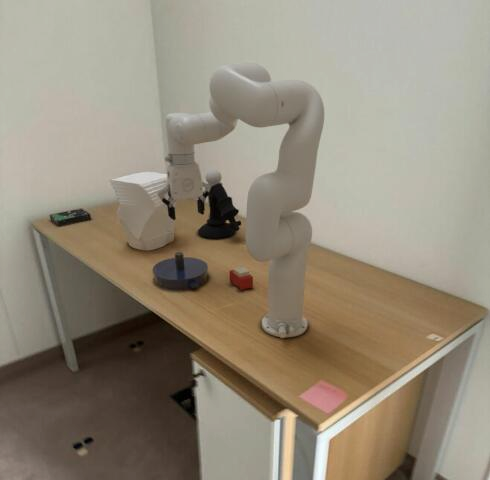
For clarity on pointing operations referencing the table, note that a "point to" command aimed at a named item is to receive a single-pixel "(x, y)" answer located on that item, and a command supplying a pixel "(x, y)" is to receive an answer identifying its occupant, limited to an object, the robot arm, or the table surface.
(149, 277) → the table surface
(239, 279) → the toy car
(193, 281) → the pot
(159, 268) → the lid
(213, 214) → the sculpture
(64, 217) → the disk drive
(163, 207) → the paper stack
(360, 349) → the table surface
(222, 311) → the table surface
